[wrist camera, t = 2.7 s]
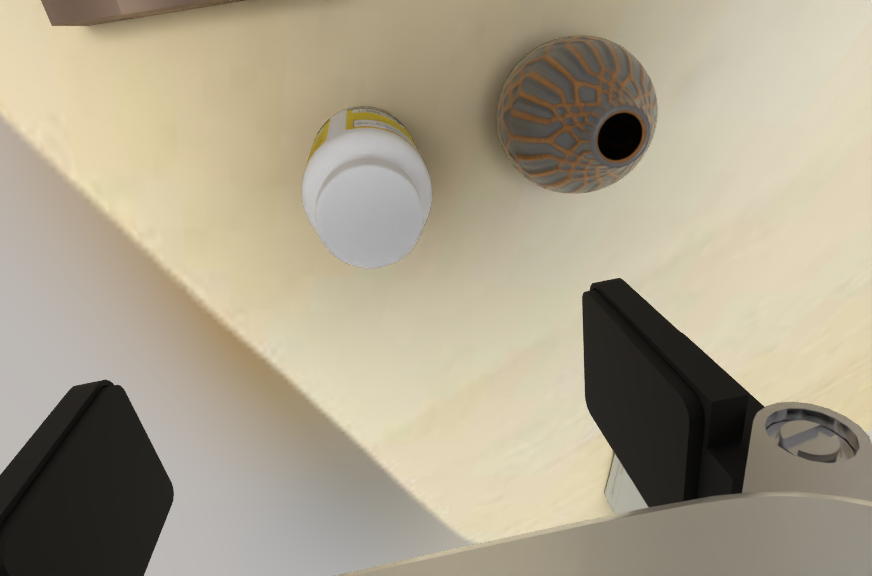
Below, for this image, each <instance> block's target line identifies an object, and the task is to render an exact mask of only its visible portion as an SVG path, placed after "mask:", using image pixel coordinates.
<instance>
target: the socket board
mask: <svg viewBox="0 0 872 576" xmlns="http://www.w3.org/2000/svg"><path fill="white" fill-rule="evenodd" d="M41 1H42V4H43V6H44V8H45V11H46V13H47V15H48V18H49V20H50V22H51V25H52V26H88V25H94V24H100V23H107V22H113V21H119V20H125V19H132V18H138V17H144V16H150V15H156V14H163V13H169V12H175V11H181V10H187V9H194V8H200V7H206V6H212V5H219V4H225V3H231V2H237V1H243V0H41Z"/></svg>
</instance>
